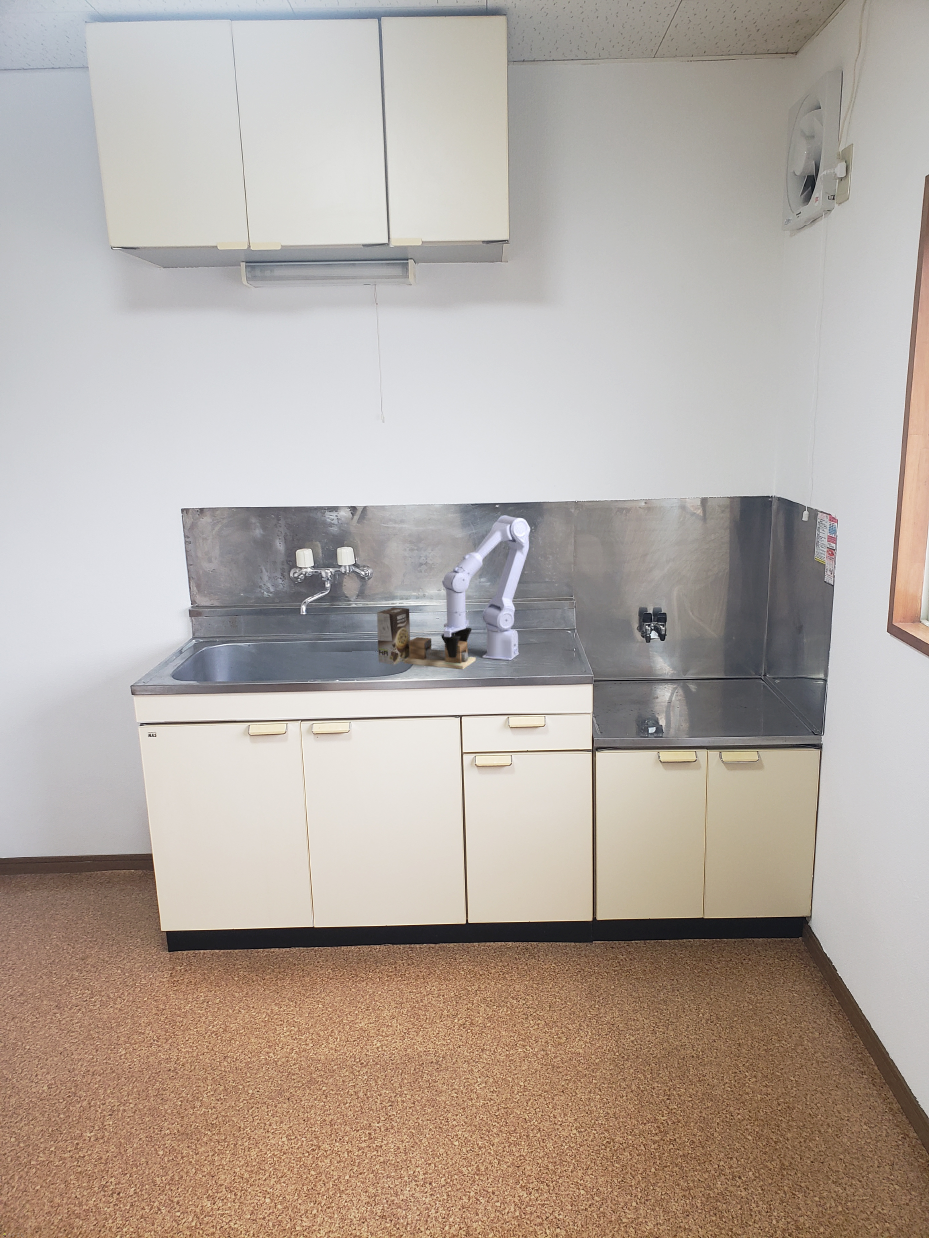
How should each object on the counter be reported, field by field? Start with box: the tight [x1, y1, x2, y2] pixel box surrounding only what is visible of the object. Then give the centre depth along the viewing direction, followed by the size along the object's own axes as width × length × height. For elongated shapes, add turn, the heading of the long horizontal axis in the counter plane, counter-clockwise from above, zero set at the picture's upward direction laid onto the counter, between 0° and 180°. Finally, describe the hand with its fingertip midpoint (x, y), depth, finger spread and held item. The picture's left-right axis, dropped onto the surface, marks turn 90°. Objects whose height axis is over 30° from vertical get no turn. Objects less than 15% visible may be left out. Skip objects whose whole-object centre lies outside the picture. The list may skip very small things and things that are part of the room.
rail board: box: [402, 636, 476, 670], centre depth 274 cm, size 20×10×6 cm, turn 67°
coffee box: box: [376, 606, 411, 666], centre depth 275 cm, size 9×6×16 cm
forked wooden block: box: [444, 641, 468, 663], centre depth 272 cm, size 5×5×6 cm
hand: (457, 654), depth 272 cm, fingers open, 6 cm apart
